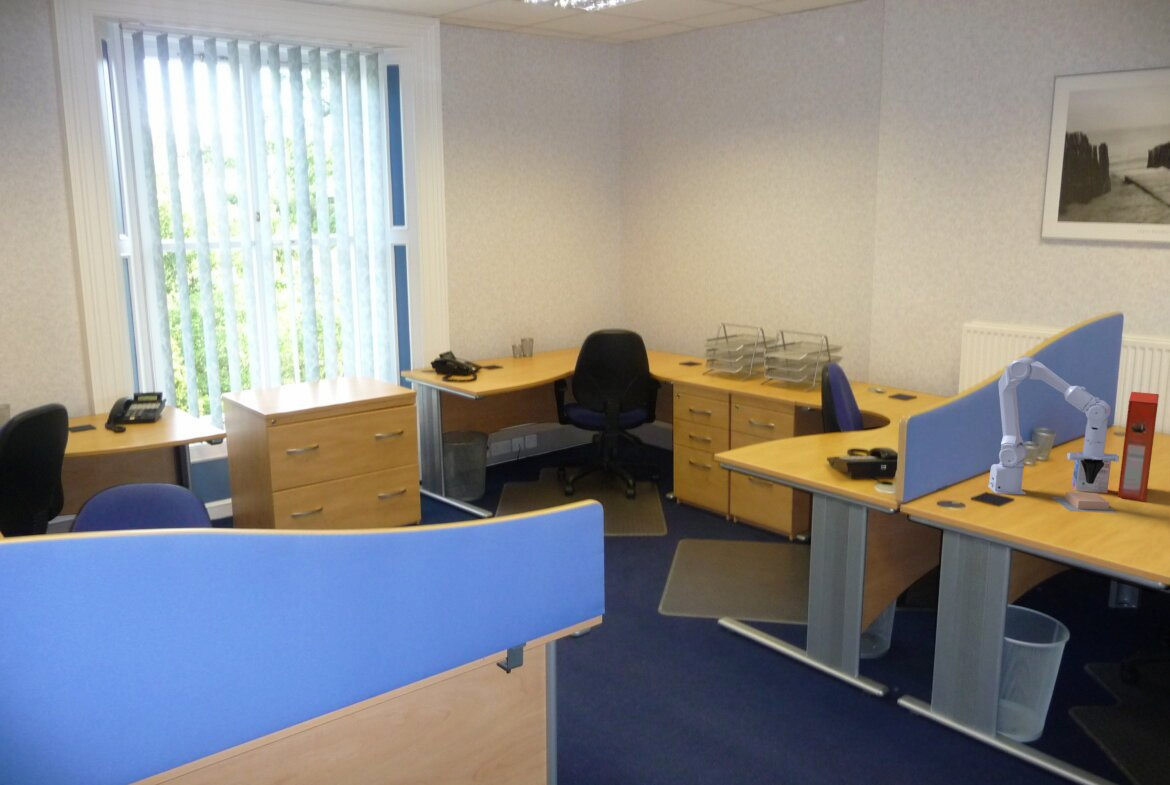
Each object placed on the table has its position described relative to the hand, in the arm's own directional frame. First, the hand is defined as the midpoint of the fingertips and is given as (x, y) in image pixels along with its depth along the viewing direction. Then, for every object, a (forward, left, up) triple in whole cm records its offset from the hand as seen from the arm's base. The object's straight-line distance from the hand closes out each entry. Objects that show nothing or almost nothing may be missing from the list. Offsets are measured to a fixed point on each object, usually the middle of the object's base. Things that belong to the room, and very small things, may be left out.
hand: (1089, 482), depth 288 cm
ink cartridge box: (+8, +17, -8) cm, 20 cm away
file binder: (+21, +15, -8) cm, 27 cm away
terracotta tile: (-5, 0, -6) cm, 7 cm away
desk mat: (-1, 0, -7) cm, 7 cm away
